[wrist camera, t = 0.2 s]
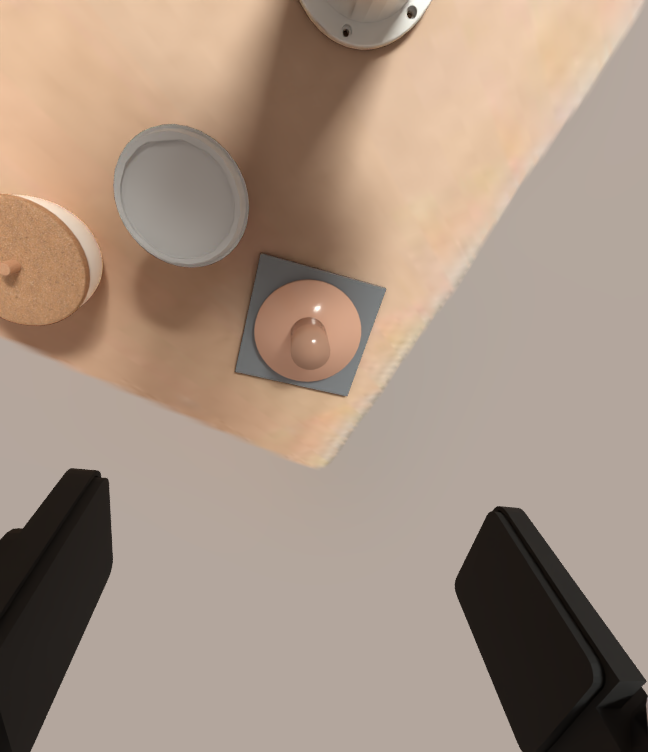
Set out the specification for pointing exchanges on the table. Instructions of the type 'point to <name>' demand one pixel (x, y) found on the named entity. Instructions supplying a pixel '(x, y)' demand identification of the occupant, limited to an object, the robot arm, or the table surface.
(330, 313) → the lid
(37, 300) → the lidded jar
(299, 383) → the mat
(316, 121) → the table surface
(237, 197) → the disposable coffee cup
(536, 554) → the robot arm
